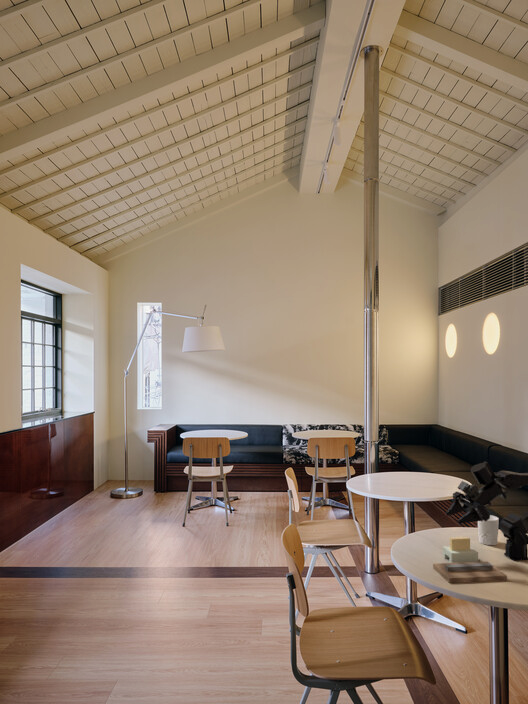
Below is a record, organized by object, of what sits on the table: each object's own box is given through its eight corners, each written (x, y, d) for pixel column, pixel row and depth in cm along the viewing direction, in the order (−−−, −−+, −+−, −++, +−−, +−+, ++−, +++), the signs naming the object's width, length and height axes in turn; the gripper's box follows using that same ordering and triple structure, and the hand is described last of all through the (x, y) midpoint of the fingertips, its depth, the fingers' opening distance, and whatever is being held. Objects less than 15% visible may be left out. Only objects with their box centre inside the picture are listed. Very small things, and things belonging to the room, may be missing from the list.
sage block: (468, 556, 185) (468, 534, 185) (478, 563, 178) (477, 541, 178) (442, 557, 184) (442, 535, 184) (451, 564, 177) (451, 542, 177)
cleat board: (487, 565, 176) (487, 557, 176) (507, 580, 164) (506, 571, 164) (433, 568, 174) (433, 559, 174) (449, 582, 162) (449, 573, 162)
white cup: (473, 540, 201) (472, 515, 202) (489, 538, 204) (488, 513, 204) (487, 547, 194) (486, 521, 194) (503, 544, 196) (503, 519, 196)
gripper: (462, 470, 192) (429, 493, 190) (488, 482, 173) (452, 507, 172) (477, 494, 192) (444, 517, 190) (505, 508, 173) (469, 534, 172)
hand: (452, 518), depth 181 cm, fingers open, 9 cm apart
